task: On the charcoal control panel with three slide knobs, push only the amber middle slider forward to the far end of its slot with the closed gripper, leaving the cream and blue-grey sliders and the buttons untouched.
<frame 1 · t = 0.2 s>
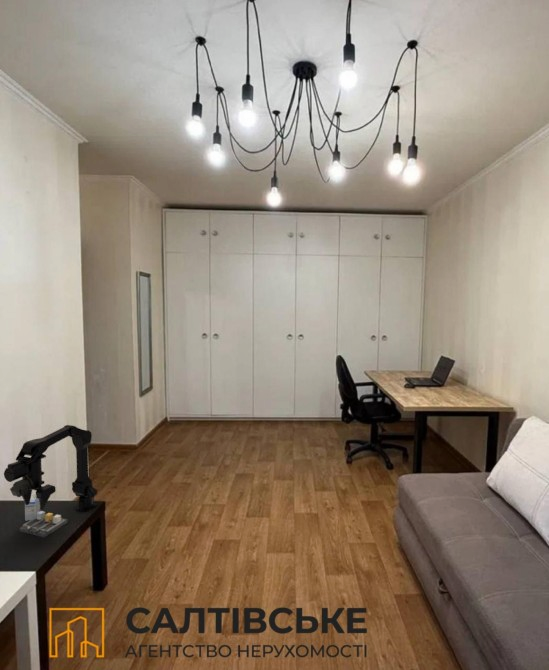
hand: (34, 507, 154), 14 cm above the table, fingers open, 9 cm apart
panel: (44, 526, 164), on the table
medicine box: (32, 516, 172), on the table
slider amber: (49, 517, 166), point 3 cm above the table, slide at 0.0 cm
slider cream: (57, 519, 164), point 3 cm above the table, slide at 0.0 cm
slider blue: (41, 515, 167), point 3 cm above the table, slide at 0.0 cm
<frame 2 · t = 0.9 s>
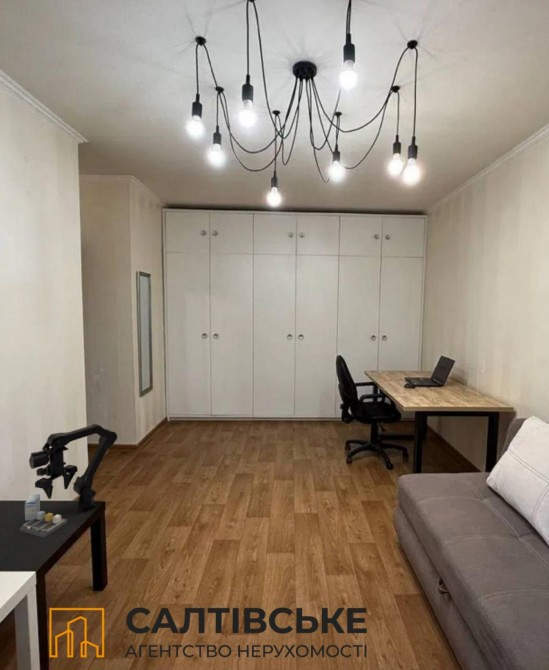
hand: (57, 493, 170), 12 cm above the table, fingers open, 9 cm apart
nothing on the table moved.
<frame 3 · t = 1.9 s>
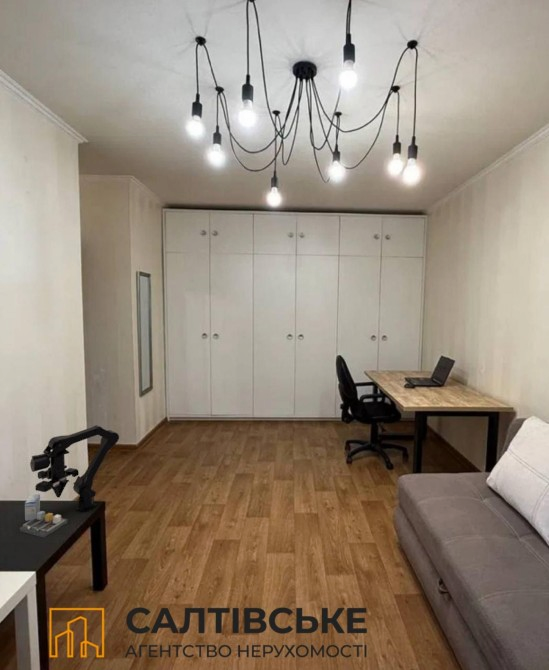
hand: (58, 497, 170), 10 cm above the table, fingers closed
nothing on the table moved.
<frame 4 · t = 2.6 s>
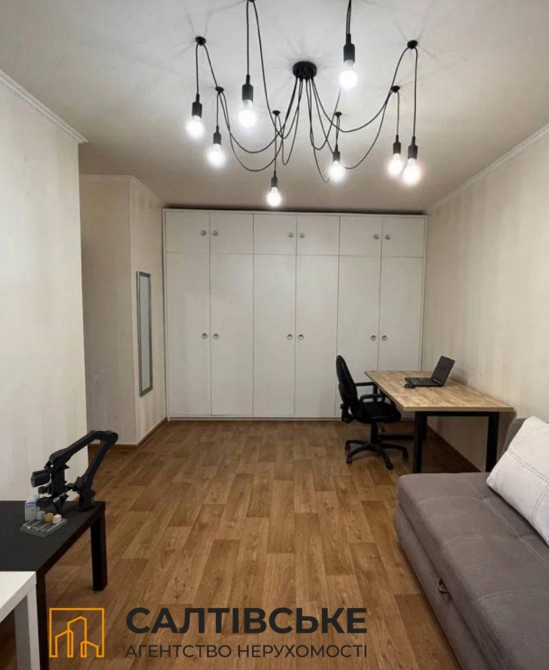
hand: (58, 512, 171), 3 cm above the table, fingers closed
nothing on the table moved.
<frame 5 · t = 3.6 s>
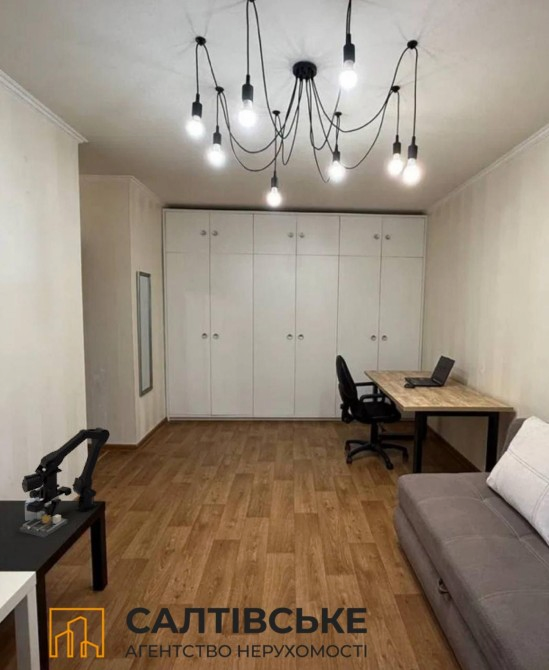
hand: (50, 516, 167), 3 cm above the table, fingers closed
slider amber: (46, 518, 165), point 3 cm above the table, slide at 1.4 cm, touching gripper
everything else where it was.
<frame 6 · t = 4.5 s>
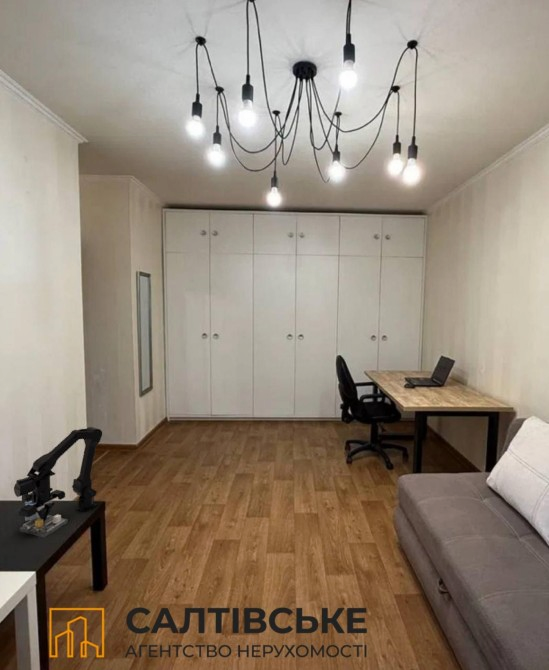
hand: (43, 521, 163), 3 cm above the table, fingers closed
slider amber: (39, 523, 161), point 3 cm above the table, slide at 5.0 cm, touching gripper
everything else where it was.
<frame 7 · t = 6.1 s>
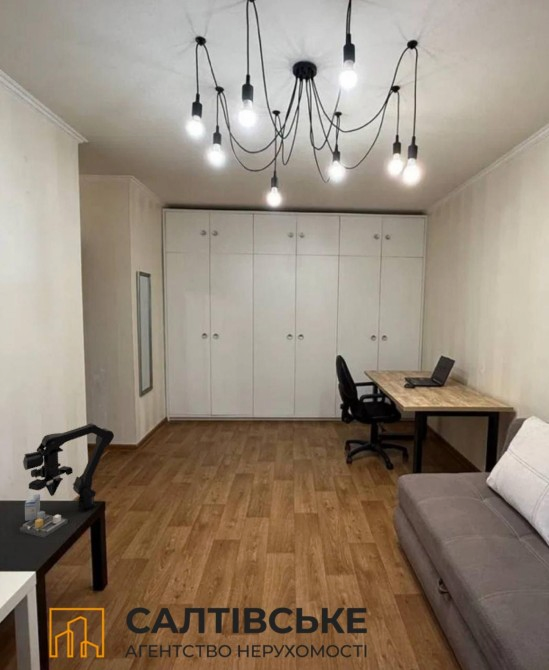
hand: (52, 495, 168), 12 cm above the table, fingers closed
slider amber: (39, 523, 161), point 3 cm above the table, slide at 5.0 cm
everything else where it was.
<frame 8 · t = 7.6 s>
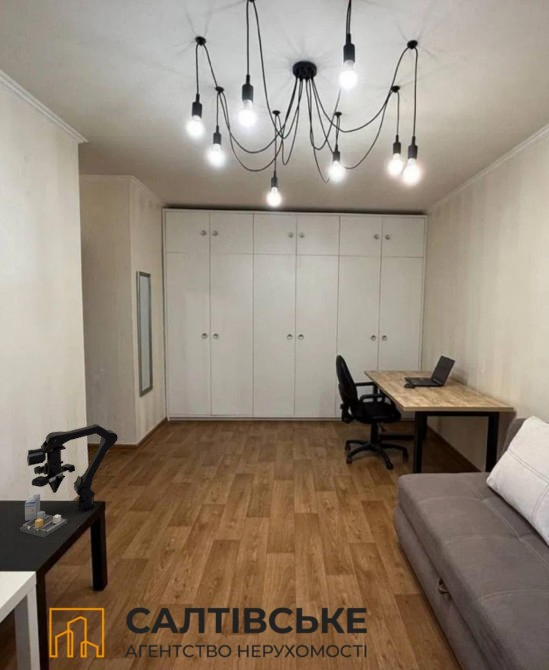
hand: (54, 492, 171), 12 cm above the table, fingers closed
nothing on the table moved.
at the end: slider amber slide at 5.0 cm; slider cream slide at 0.0 cm; slider blue slide at 0.0 cm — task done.
